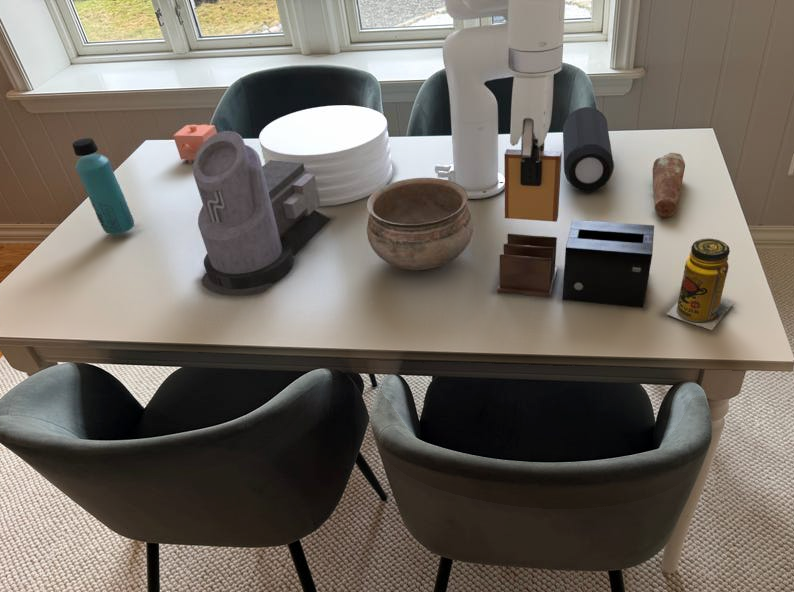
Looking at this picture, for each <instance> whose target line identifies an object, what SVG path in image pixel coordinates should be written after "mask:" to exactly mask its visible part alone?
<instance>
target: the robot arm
mask: <svg viewBox="0 0 794 592" xmlns="http://www.w3.org/2000/svg"><path fill="white" fill-rule="evenodd" d="M443 1H444V7H445V10H446V12H447V14H448V16H449V17H450V18H452V19H453V20H458V21H466V20H476V19H477V20H478V19H485V18H493V17H502V18H503V19H504V23H496V24H485V25H479V26H469V27H465V28H461V29H458V30H455V31H453V32H451V33H450V34H449V35H447V37H446V38H445V39H444V41H443V44H442V61H443V65H444V71H445V76H446V81H447V87H448V96H449V97H448V98H449V110H450V125H451V145H452V147H451V148H452V163H450V164H449V165H447V164H439V163H438V164H435V167H434V173H435V174H437V178H438V179H445V178H446V179H447V180H448V181H451V182H454V183H456V184H458V185H460V186H461V187H462V188H464V190H465V191H466V192H467V195H468V200H469V199H471V200H478V199H486V198H490V197H494V196H496V195H498V194H499V193H501V192H502V191H503V190H505V175H503V174H502V173H500V171H499V106H498V105H499V104H498V101H497V99H496V96H495V94H494V93H493V92H492V91H491V89H489V88H488V87H487V85H485V83H486V82H490V81H493V80H498V79H506V78H513V81H512V92H511V107H510V129H509V130H510V132H509V144H510V145H511V146H513V147H514V146H516V145H518V144H519V141H520V140H521V143H520V145H521V147H520V150H521V175H520V184H521V185H525V186H540V185H541V180H542V160H540V152H541V151H545V142H546V139H547V136H548V133H549V130H550V127H551V123H552V116H553V115H552V114H553V102H554V76H555V74H558V73H559V72H561V71H562V69H563V54H564V53H563V52H564V31H565V30H564V29H565V14H566V13H565V11H566V10H565V9H566V0H443Z"/></svg>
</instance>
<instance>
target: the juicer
mask: <svg viewBox="0 0 794 592" xmlns="http://www.w3.org/2000/svg"><path fill="white" fill-rule="evenodd" d="M192 175H193V178H194V181H195V185H196V187H197V190H198V194H199V196H200V200H201V203H202V206H201V209H200V210H199V213H198V218H197V226H198V229H199V232H200V236H201V238H202V241H203V244H204V247H205V250H206V255H205V257H204V258H203V267H204V269H205V273H204V274H203V276H202V278H201V279H200V281H201V284H202V286H204V288H205V289H206V290H208V291H209V292H211V293H213V294H217V295H221V296H227V297H244V296H245V297H246V296H251V295H252V296H253V295H257V294H261V293H265V292H266V291H267V290H268V289H269V288H270V286H271V285H274V284H275V283H277V282H279V281H280V280H282V279H284V277H287V275H288V274H289V273H290V272H291V270H292V269H293V267H294V264H295V258H294V257H295V256H296V255H297V254H298V253H299V252H300V251H301V250H302V248H304V247H305V246H306V244H308V242H310V240H312V239H313V237H315V235H317V234H318V232H319V231H320V230H322V229H323V228H324V226H326V224H328V222H329V221H330V220H331V218H329V217H328V216H326V215H325V214H323V213H321V212H319V211H317V210H316V209H317V208H318V207H320V206H319V205H320V200H319V195H318V190H317V185H316V180H315V175H312V174H308V172H307V170H306V169H305V168H304V164H303V163H294V162H284V161H275V160H270V161H269V162H267V163H266V164H265V163H264V164H263V165H262V161H261V157H260V155H259V153H258V151H257V150H255V148H253V147H251V146H250V145H247V144H245V141H244V138H243V137H242V136H241V135H240V134H239V133H237V132H236V131H232V130H223V131H219V132H217V134H215V135H213V136H212V137H210V138H209V139H208V140H206V142H205V143H204V144H203V145H202V146H201V147H200V149H199V150H198V152H197V154H196V157H195V159H194V162H192Z"/></svg>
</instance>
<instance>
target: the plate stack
mask: <svg viewBox="0 0 794 592" xmlns="http://www.w3.org/2000/svg"><path fill="white" fill-rule="evenodd" d="M258 141H259V145H260V148H261V153H262V158H263V159H264V165H265V164H266V163H267V162H269V161H270V160H275V161H284V162H294V163H303V164H304V168H305V169H306V170H307V172H308V174H312V175H315V180H316V185H317V190H318V195H319V200H320V205H319V206H318V207H330V206H338V205H342V204H348V203H353V202H356V201H358V200H361V199H364V198H367V197H368V196H369V197H370V196H371V195H372V194H373V193H374V192H375V191H377V190H378V189H380V188H382V187H384V186H386V185H388V184H389V182H390V181H391V179H392V177H393V173H394V172H393V164H392V155H391V146H390V138H389V131H388V120H387V118H386V117H385V115H384V114H382V113H381V112H379V111H377V110H376V109H373V108H369V107H366V106H365V107H364V106H358V105H343V104H342V105H341V104H339V105H326V106H318V107H317V106H316V107H311V108H306V109H301V110H297V111H295V112H292V113H289V114H286V115H284V116H281V117H278V118H277V119H275V120H273V121H271V122H270V123H268V124H267V125H265V127H264V128H262V130H261V131H260V133H259V136H258Z"/></svg>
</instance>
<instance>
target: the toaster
mask: <svg viewBox="0 0 794 592" xmlns="http://www.w3.org/2000/svg"><path fill="white" fill-rule="evenodd" d="M654 237H655V225H653V224H640V223H624V222H612V221H611V222H609V221H598V220H597V221H596V220H582V219H572V220H571V224H570V228H569V232H568V237H567V240H566V244H565V250H564V251H565V253H564V265H563V266H564V268H563V279H562V281H563V282H562V296H561V299H562V301H569V302H571V301H572V302H579V303H580V302H581V303H591V304H599V305H609V306H610V305H611V306H619V307H631V308H638V309H639V308H641V309H644V307H645V302H646V297H647V296H646V295H647V291H648V285H649V284H648V283H649V277H650V271H651V264H652V261H653V251H654Z"/></svg>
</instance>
